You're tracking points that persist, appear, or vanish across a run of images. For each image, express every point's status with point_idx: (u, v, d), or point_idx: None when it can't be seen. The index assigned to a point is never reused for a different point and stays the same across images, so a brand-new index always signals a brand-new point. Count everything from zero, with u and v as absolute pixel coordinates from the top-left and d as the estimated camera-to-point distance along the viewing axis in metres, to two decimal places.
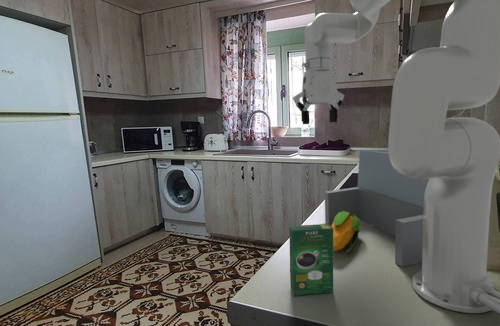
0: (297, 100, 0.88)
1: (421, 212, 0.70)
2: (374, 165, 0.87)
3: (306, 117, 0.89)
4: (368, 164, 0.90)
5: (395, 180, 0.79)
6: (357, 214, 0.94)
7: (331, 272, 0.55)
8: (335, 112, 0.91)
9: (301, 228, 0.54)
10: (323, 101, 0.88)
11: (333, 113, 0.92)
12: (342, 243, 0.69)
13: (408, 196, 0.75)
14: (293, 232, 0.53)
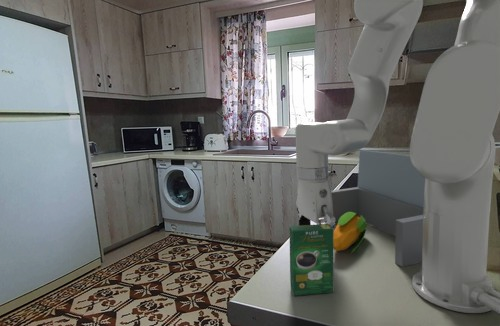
0: None
1: (421, 212, 0.70)
2: (374, 165, 0.87)
3: None
4: (368, 164, 0.90)
5: (395, 180, 0.79)
6: (357, 214, 0.94)
7: (331, 272, 0.55)
8: None
9: (301, 228, 0.54)
10: None
11: (308, 223, 0.78)
12: (345, 244, 0.68)
13: (408, 196, 0.75)
14: (293, 232, 0.53)
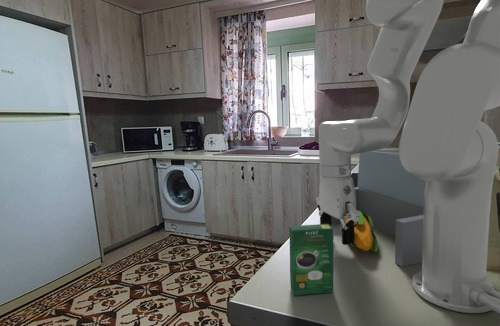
0: None
1: (421, 212, 0.70)
2: (374, 165, 0.87)
3: (353, 235, 0.71)
4: (368, 164, 0.90)
5: (395, 180, 0.79)
6: None
7: (331, 272, 0.55)
8: None
9: (301, 228, 0.54)
10: None
11: (329, 220, 0.80)
12: (372, 242, 0.68)
13: (408, 196, 0.75)
14: (293, 232, 0.53)
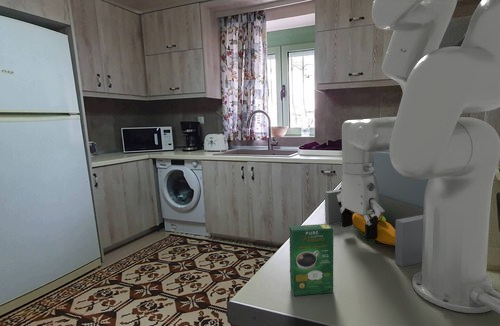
0: None
1: (421, 212, 0.70)
2: (374, 165, 0.87)
3: None
4: None
5: (395, 180, 0.79)
6: None
7: (331, 272, 0.55)
8: None
9: (301, 228, 0.54)
10: None
11: (350, 217, 0.81)
12: None
13: (408, 196, 0.75)
14: (293, 232, 0.53)
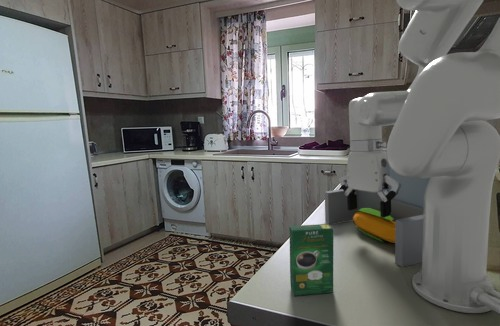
0: None
1: (421, 212, 0.70)
2: None
3: None
4: None
5: None
6: None
7: (331, 272, 0.55)
8: None
9: (301, 228, 0.54)
10: None
11: (355, 199, 0.80)
12: None
13: (408, 196, 0.75)
14: (293, 232, 0.53)
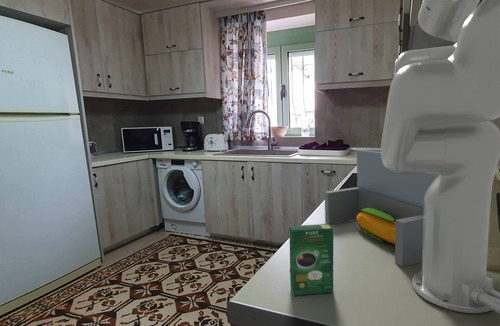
0: None
1: (421, 212, 0.70)
2: (372, 165, 0.87)
3: None
4: (366, 164, 0.89)
5: (394, 180, 0.79)
6: (357, 214, 0.94)
7: (331, 272, 0.55)
8: None
9: (301, 228, 0.54)
10: None
11: None
12: None
13: (408, 196, 0.75)
14: (293, 232, 0.53)
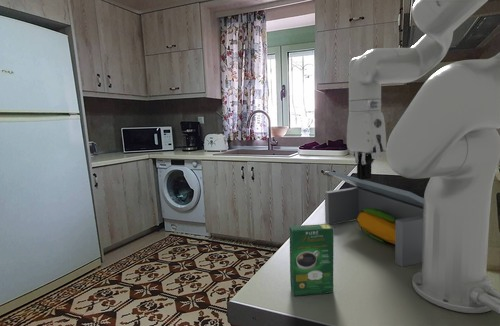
0: None
1: (421, 212, 0.70)
2: (352, 182, 0.86)
3: None
4: (347, 180, 0.88)
5: (380, 192, 0.78)
6: (357, 214, 0.94)
7: (331, 272, 0.55)
8: None
9: (301, 228, 0.54)
10: None
11: None
12: None
13: (404, 200, 0.75)
14: (293, 232, 0.53)
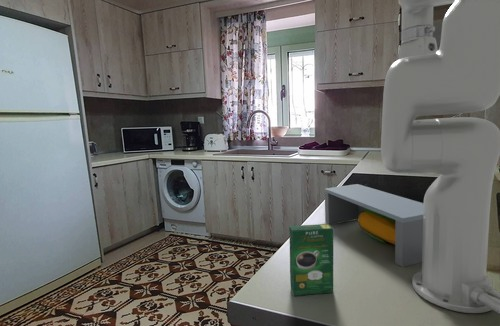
0: None
1: None
2: None
3: None
4: None
5: None
6: (357, 214, 0.94)
7: (331, 272, 0.55)
8: None
9: (301, 228, 0.54)
10: None
11: None
12: None
13: None
14: (293, 232, 0.53)
